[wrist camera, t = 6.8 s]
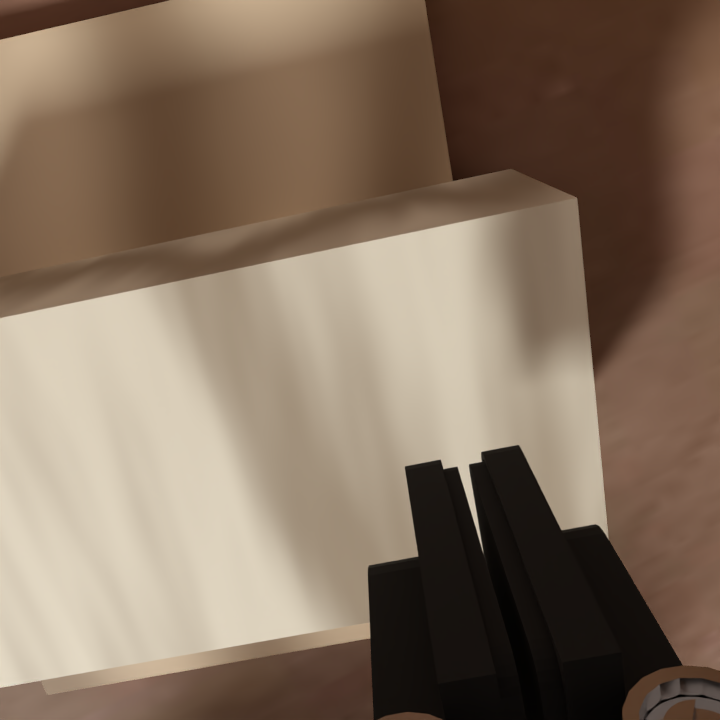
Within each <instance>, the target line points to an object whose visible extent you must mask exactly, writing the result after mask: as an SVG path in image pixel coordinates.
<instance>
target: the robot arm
mask: <svg viewBox="0 0 720 720" xmlns="http://www.w3.org/2000/svg"><path fill="white" fill-rule="evenodd" d="M481 460H482V462H478V463H473V464H469V471H470V477H471V483H472V489H473V495H474V501H475V506H476V512H477V518H478V524H479V530H480V536H481V541H482V547H483V550H482V547H481V544H480V540H479V537H478V534H477V530H476V527H475V524H474V520H473V517H472V513H471V510H470V507H469V503H468V500H467V497H466V493H465V490H464V487H463V483H462V480H461V476H460V473H459V470H458V467H452V468H447V469H443V466H442V462H441V460H436V461H430V462H425V463H420V464H414V465H409V466H405V473H406V479H407V486H408V492H409V499H410V505H411V512H412V518H413V525H414V531H415V538H416V544H417V551H418V557H412V558H407V559H401V560H396V561H390V562H385V563H379V564H374V565H369V566H368V593H369V616H370V640H371V664H372V687H373V711H374V720H720V671H718V670H715V669H712V668H708V667H697V666H683V665H682V663H681V662H680V660H679V658H678V657H677V655H676V653H675V652H674V650H673V648H672V647H671V645H670V643H669V641H668V640H667V638H666V636H665V635H664V633H663V631H662V630H661V628H660V626H659V624H658V623H657V621H656V619H655V618H654V616H653V614H652V613H651V611H650V609H649V607H648V606H647V604H646V602H645V601H644V599H643V597H642V596H641V594H640V592H639V590H638V589H637V587H636V585H635V584H634V582H633V580H632V579H631V577H630V575H629V573H628V572H627V570H626V568H625V567H624V565H623V563H622V562H621V560H620V558H619V557H618V555H617V553H616V551H615V550H614V548H613V546H612V545H611V543H610V541H609V540H608V538H607V536H606V534H605V533H604V531H603V530H602V529H601V527H600V526H598V525H596V524H594V525H588V526H583V527H577V528H572V529H566V530H561V528H560V526H559V524H558V522H557V520H556V518H555V516H554V514H553V512H552V510H551V508H550V506H549V504H548V502H547V500H546V498H545V496H544V494H543V492H542V490H541V488H540V486H539V484H538V482H537V480H536V478H535V476H534V474H533V472H532V470H531V468H530V465H529V463H528V461H527V459H526V457H525V455H524V453H523V451H522V449H521V447H520V446H519V445H515V446H509V447H504V448H499V449H493V450H488V451H483V452H481ZM483 553H484V554H483Z"/></svg>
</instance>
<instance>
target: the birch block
mask: <svg viewBox="0 0 720 720" xmlns="http://www.w3.org/2000/svg"><path fill="white" fill-rule="evenodd" d="M515 445H519V446H520V447H521V449H522V451H523V453H524V455H525V457H526V459H527V461H528V463H529V465H530V468H531V470H532V472H533V474H534V476H535V478H536V480H537V482H538V484H539V486H540V488H541V490H542V492H543V494H544V496H545V498H546V500H547V502H548V504H549V506H550V508H551V510H552V512H553V514H554V516H555V518H556V520H557V522H558V524H559V526H560V528H561V530H566V529H572V528H577V527H583V526H588V525H594V524H596V525H598V526H600V527H601V529H602V530H603V531H604V533H605V534H606V536H607V538H608V528H607V517H606V506H605V496H604V485H603V474H602V463H601V452H600V441H599V430H598V419H597V408H596V397H595V386H594V375H593V364H592V354H591V343H590V332H589V321H588V310H587V299H586V288H585V277H584V266H583V255H582V244H581V233H580V222H579V212H578V201H577V198H576V197H574V196H572V195H570V194H567V193H565V192H563V191H561V190H558V189H556V188H554V187H552V186H549V185H547V184H545V183H543V182H540V181H538V180H536V179H533V178H531V177H529V176H527V175H524V174H522V173H520V172H518V171H515V170H513V169H508V170H503V171H498V172H494V173H489V174H484V175H480V176H475V177H470V178H465V179H461V180H456V181H451V182H447V183H442V184H437V185H432V186H428V187H423V188H418V189H413V190H409V191H404V192H399V193H395V194H390V195H385V196H380V197H376V198H371V199H366V200H362V201H357V202H352V203H347V204H343V205H338V206H333V207H329V208H324V209H319V210H314V211H310V212H305V213H300V214H296V215H291V216H286V217H281V218H277V219H272V220H267V221H263V222H258V223H253V224H248V225H244V226H239V227H234V228H230V229H225V230H220V231H215V232H211V233H206V234H201V235H197V236H192V237H187V238H182V239H178V240H173V241H168V242H164V243H159V244H154V245H149V246H145V247H140V248H135V249H131V250H126V251H121V252H116V253H112V254H107V255H102V256H97V257H93V258H88V259H83V260H79V261H74V262H69V263H64V264H60V265H55V266H50V267H46V268H41V269H36V270H31V271H27V272H22V273H17V274H13V275H8V276H3V277H0V688H1V687H7V686H13V685H18V684H24V683H30V682H35V681H41V680H47V679H52V678H58V677H64V676H69V675H75V674H80V673H86V672H92V671H97V670H103V669H109V668H114V667H120V666H126V665H131V664H137V663H143V662H148V661H154V660H160V659H165V658H171V657H177V656H182V655H188V654H194V653H199V652H205V651H211V650H216V649H222V648H228V647H233V646H239V645H245V644H250V643H256V642H262V641H267V640H273V639H279V638H284V637H290V636H296V635H301V634H307V633H313V632H318V631H324V630H330V629H335V628H341V627H347V626H352V625H358V624H364V623H369V622H370V616H369V593H368V566H369V565H374V564H379V563H385V562H390V561H396V560H401V559H407V558H412V557H418V551H417V544H416V538H415V531H414V525H413V518H412V512H411V505H410V499H409V492H408V486H407V479H406V473H405V466H409V465H414V464H420V463H425V462H430V461H436V460H441V462H442V466H443V469H447V468H452V467H458V470H459V473H460V476H461V480H462V483H463V487H464V490H465V493H466V497H467V500H468V503H469V507H470V510H471V513H472V517H473V520H474V524H475V527H476V530H477V534H478V537H479V540H480V544H481V547H482V541H481V536H480V530H479V524H478V518H477V512H476V506H475V501H474V495H473V489H472V483H471V477H470V471H469V464H473V463H478V462H482V460H481V452H483V451H488V450H493V449H499V448H504V447H509V446H515ZM608 540H609V539H608ZM482 550H483V547H482ZM483 554H484V553H483Z"/></svg>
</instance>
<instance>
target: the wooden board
mask: <svg viewBox="0 0 720 720" xmlns="http://www.w3.org/2000/svg"><path fill="white" fill-rule="evenodd" d="M451 181H453V179H452V172H451V166H450V159H449V153H448V146H447V140H446V133H445V127H444V121H443V114H442V108H441V101H440V95H439V88H438V82H437V75H436V69H435V62H434V56H433V49H432V43H431V36H430V30H429V23H428V17H427V10H426V4H425V0H169V1H165V2H160V3H156V4H152V5H148V6H143V7H139V8H135V9H130V10H126V11H122V12H118V13H113V14H109V15H105V16H100V17H96V18H92V19H88V20H83V21H79V22H75V23H70V24H66V25H62V26H58V27H53V28H49V29H45V30H40V31H36V32H32V33H28V34H23V35H19V36H15V37H10V38H6V39H2V40H0V277H3V276H8V275H13V274H17V273H22V272H27V271H31V270H36V269H41V268H46V267H50V266H55V265H60V264H64V263H69V262H74V261H79V260H83V259H88V258H93V257H97V256H102V255H107V254H112V253H116V252H121V251H126V250H131V249H135V248H140V247H145V246H149V245H154V244H159V243H164V242H168V241H173V240H178V239H182V238H187V237H192V236H197V235H201V234H206V233H211V232H215V231H220V230H225V229H230V228H234V227H239V226H244V225H248V224H253V223H258V222H263V221H267V220H272V219H277V218H281V217H286V216H291V215H296V214H300V213H305V212H310V211H314V210H319V209H324V208H329V207H333V206H338V205H343V204H347V203H352V202H357V201H362V200H366V199H371V198H376V197H380V196H385V195H390V194H395V193H399V192H404V191H409V190H413V189H418V188H423V187H428V186H432V185H437V184H442V183H447V182H451ZM369 638H370V622H369V623H364V624H358V625H352V626H347V627H341V628H335V629H330V630H324V631H318V632H313V633H307V634H301V635H296V636H290V637H284V638H279V639H273V640H267V641H262V642H256V643H250V644H245V645H239V646H233V647H228V648H222V649H216V650H211V651H205V652H199V653H194V654H188V655H182V656H177V657H171V658H165V659H160V660H154V661H148V662H143V663H137V664H131V665H126V666H120V667H114V668H109V669H103V670H97V671H92V672H86V673H80V674H75V675H69V676H64V677H58V678H52V679H47V680H41V683H42V685H43V687H44V689H45V691H46V693H47V695H50V694H56V693H62V692H67V691H73V690H79V689H84V688H90V687H96V686H101V685H107V684H113V683H118V682H124V681H130V680H135V679H141V678H147V677H153V676H158V675H164V674H170V673H175V672H181V671H187V670H192V669H198V668H204V667H209V666H215V665H221V664H226V663H232V662H238V661H244V660H249V659H255V658H261V657H266V656H272V655H278V654H283V653H289V652H295V651H300V650H306V649H312V648H317V647H323V646H329V645H334V644H340V643H346V642H352V641H357V640H363V639H369Z"/></svg>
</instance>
